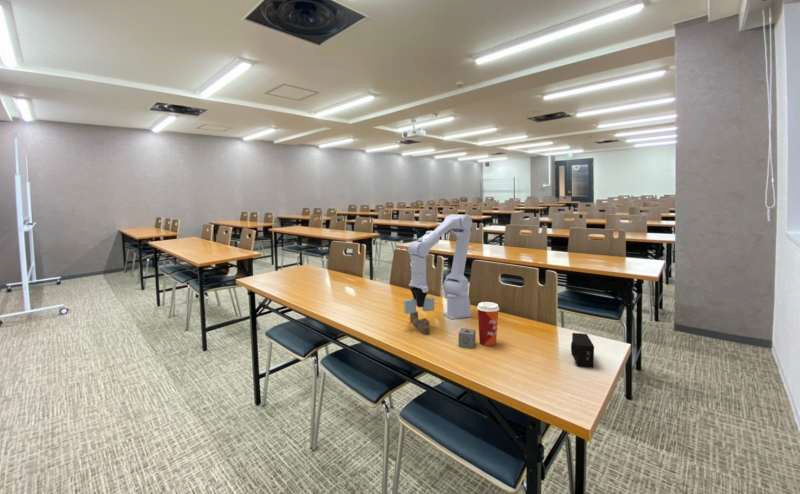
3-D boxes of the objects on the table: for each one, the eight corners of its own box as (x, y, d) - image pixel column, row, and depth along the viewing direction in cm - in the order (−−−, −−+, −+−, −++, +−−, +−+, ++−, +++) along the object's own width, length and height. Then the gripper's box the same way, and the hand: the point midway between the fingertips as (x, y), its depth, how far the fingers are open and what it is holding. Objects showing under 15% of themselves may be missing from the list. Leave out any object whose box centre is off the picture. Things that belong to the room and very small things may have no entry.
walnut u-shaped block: (410, 321, 152) (410, 310, 152) (414, 321, 153) (414, 309, 152) (424, 334, 137) (424, 322, 137) (429, 334, 138) (429, 321, 137)
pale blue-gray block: (432, 308, 147) (432, 296, 146) (434, 310, 145) (434, 298, 144) (404, 312, 143) (404, 299, 142) (405, 313, 141) (405, 301, 141)
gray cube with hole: (458, 346, 126) (458, 332, 125) (461, 341, 131) (461, 327, 130) (472, 348, 124) (473, 334, 124) (475, 343, 129) (475, 329, 128)
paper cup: (495, 349, 123) (495, 309, 121) (473, 344, 127) (473, 305, 125) (501, 341, 130) (502, 303, 128) (481, 337, 134) (481, 300, 132)
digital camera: (567, 352, 120) (568, 332, 119) (585, 354, 118) (586, 333, 117) (573, 366, 110) (574, 344, 109) (593, 368, 108) (594, 346, 107)
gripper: (403, 269, 148) (403, 302, 149) (415, 276, 134) (416, 312, 136) (419, 268, 150) (419, 300, 152) (433, 275, 136) (433, 310, 138)
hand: (419, 306), depth 144 cm, fingers closed on pale blue-gray block, 2 cm apart
